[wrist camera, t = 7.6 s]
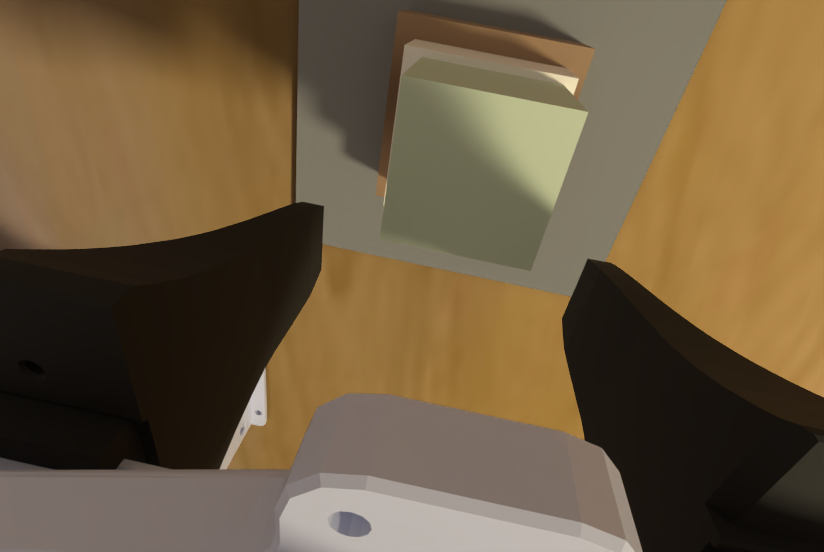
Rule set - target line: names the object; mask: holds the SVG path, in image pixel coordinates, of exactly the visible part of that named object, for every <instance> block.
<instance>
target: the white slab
mask: <svg viewBox="0 0 824 552" xmlns="http://www.w3.org/2000/svg"><path fill="white" fill-rule="evenodd" d="M422 57H424V58H429V59H435V60H440V61H445V62H450V63H455V64H460V65H465V66H470V67H476V68H481V69H486V70H491V71H496V72H501V73H506V74H511V75H517V76H522V77H527V78H532V79H537V80H542V81H547V82H552V83H558V84H563V85H564V86H565V87H566V88H567V89H568V90H569V91H570V92H571V93H572V94H573V95H574V92H575V89H576V86H577V83H578V80H579V78H578V77H577V76H575V75H574V74H573V73H572V72H571V71H569V70H568V69H567V68H563V67H558V66H553V65H548V64H543V63H537V62H532V61H527V60H522V59H517V58H511V57H506V56H501V55H496V54H491V53H486V52H480V51H475V50H470V49H465V48H460V47H454V46H449V45H444V44H439V43H434V42H428V41H423V40H418V39H414V40H412V41H411V42H409V43H407V44H405V45H404V52H403V60H402V68H401V75H400V83H399V90H398V98H397V105H396V113H395V121H396V114H397V106H398V99H399V91H400V84H401V76H402V74H404V73H405V72H406V71H407V70H408V69H409V68H410V67H411V66H413V65H414V64H415V63H416V62H417V61H418V60H419V59H420V58H422ZM395 121H394V128H393V136H394V129H395ZM393 136H392V143H393ZM392 143H391V151H392ZM391 151H390V158H391ZM389 166H390V159H389ZM389 166H388V173H389ZM387 181H388V174H387ZM387 181H386V188H387ZM385 196H386V189H385ZM385 196H384V203H385ZM383 206H384V204H383Z"/></svg>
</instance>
